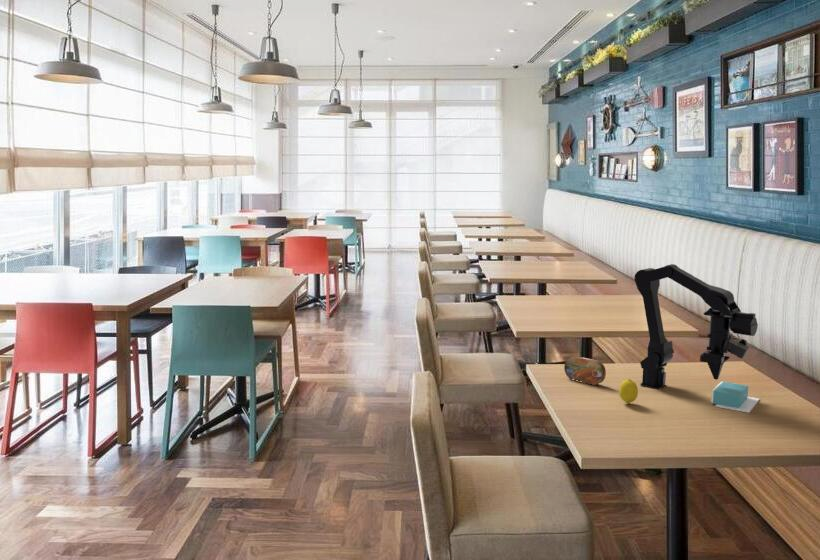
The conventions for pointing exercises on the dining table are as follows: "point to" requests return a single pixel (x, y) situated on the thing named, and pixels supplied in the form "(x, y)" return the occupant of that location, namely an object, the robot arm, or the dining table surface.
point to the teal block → (729, 394)
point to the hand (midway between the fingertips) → (716, 379)
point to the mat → (743, 405)
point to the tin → (585, 370)
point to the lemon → (628, 391)
